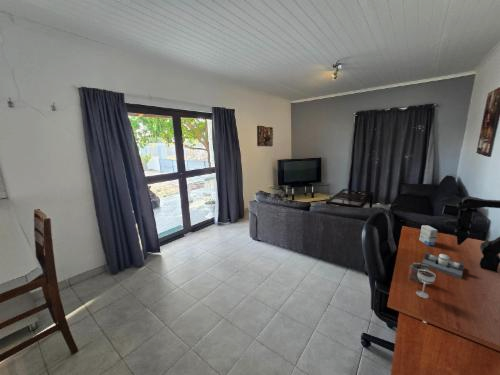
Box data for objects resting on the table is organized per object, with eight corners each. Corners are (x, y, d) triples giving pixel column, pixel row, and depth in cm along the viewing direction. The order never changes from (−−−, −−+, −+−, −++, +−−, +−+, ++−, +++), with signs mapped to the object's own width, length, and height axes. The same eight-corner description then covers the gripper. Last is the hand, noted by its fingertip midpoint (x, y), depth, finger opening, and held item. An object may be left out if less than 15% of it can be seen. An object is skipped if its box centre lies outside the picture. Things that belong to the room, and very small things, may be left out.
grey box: (408, 279, 115) (411, 263, 112) (407, 276, 118) (410, 260, 115) (427, 284, 111) (430, 267, 109) (425, 280, 114) (429, 264, 112)
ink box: (435, 245, 148) (438, 230, 146) (427, 245, 148) (431, 230, 146) (425, 239, 157) (428, 225, 154) (418, 239, 157) (421, 225, 154)
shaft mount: (463, 267, 124) (465, 259, 123) (461, 278, 115) (463, 269, 113) (426, 256, 136) (427, 248, 135) (421, 265, 127) (423, 257, 126)
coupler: (447, 266, 125) (450, 256, 124) (446, 270, 122) (449, 259, 121) (437, 263, 129) (439, 252, 127) (436, 266, 126) (438, 255, 124)
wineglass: (414, 287, 109) (418, 266, 106) (431, 293, 105) (436, 272, 102) (413, 295, 104) (417, 273, 101) (431, 301, 100) (436, 279, 97)
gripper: (448, 210, 137) (443, 232, 141) (444, 218, 125) (439, 242, 129) (473, 215, 129) (467, 238, 133) (471, 224, 117) (465, 249, 121)
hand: (459, 242), depth 129 cm, fingers open, 9 cm apart
